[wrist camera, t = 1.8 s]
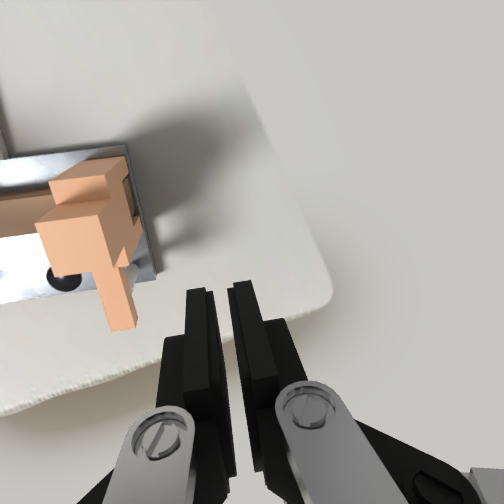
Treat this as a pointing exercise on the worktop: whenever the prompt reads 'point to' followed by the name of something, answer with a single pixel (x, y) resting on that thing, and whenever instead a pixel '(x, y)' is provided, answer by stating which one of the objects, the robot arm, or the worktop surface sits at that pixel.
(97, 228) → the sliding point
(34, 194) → the trammel bar
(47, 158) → the flange plate
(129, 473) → the robot arm
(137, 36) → the worktop surface
